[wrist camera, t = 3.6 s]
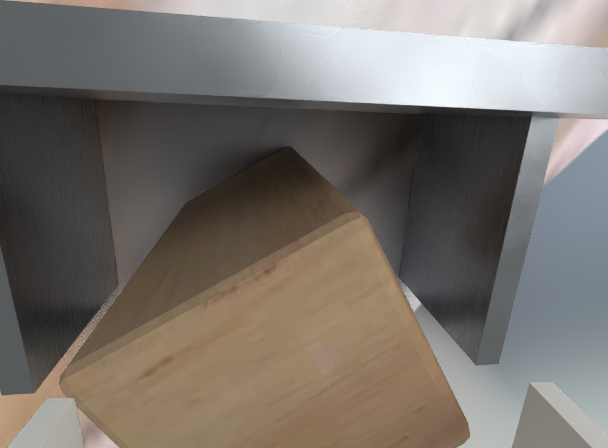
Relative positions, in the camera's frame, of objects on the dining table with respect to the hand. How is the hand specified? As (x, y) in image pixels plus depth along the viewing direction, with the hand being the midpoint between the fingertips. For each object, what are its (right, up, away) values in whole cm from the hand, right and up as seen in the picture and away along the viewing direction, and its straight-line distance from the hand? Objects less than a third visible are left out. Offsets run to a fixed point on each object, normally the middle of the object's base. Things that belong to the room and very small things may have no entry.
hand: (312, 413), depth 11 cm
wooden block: (-3, +6, +19) cm, 20 cm away
